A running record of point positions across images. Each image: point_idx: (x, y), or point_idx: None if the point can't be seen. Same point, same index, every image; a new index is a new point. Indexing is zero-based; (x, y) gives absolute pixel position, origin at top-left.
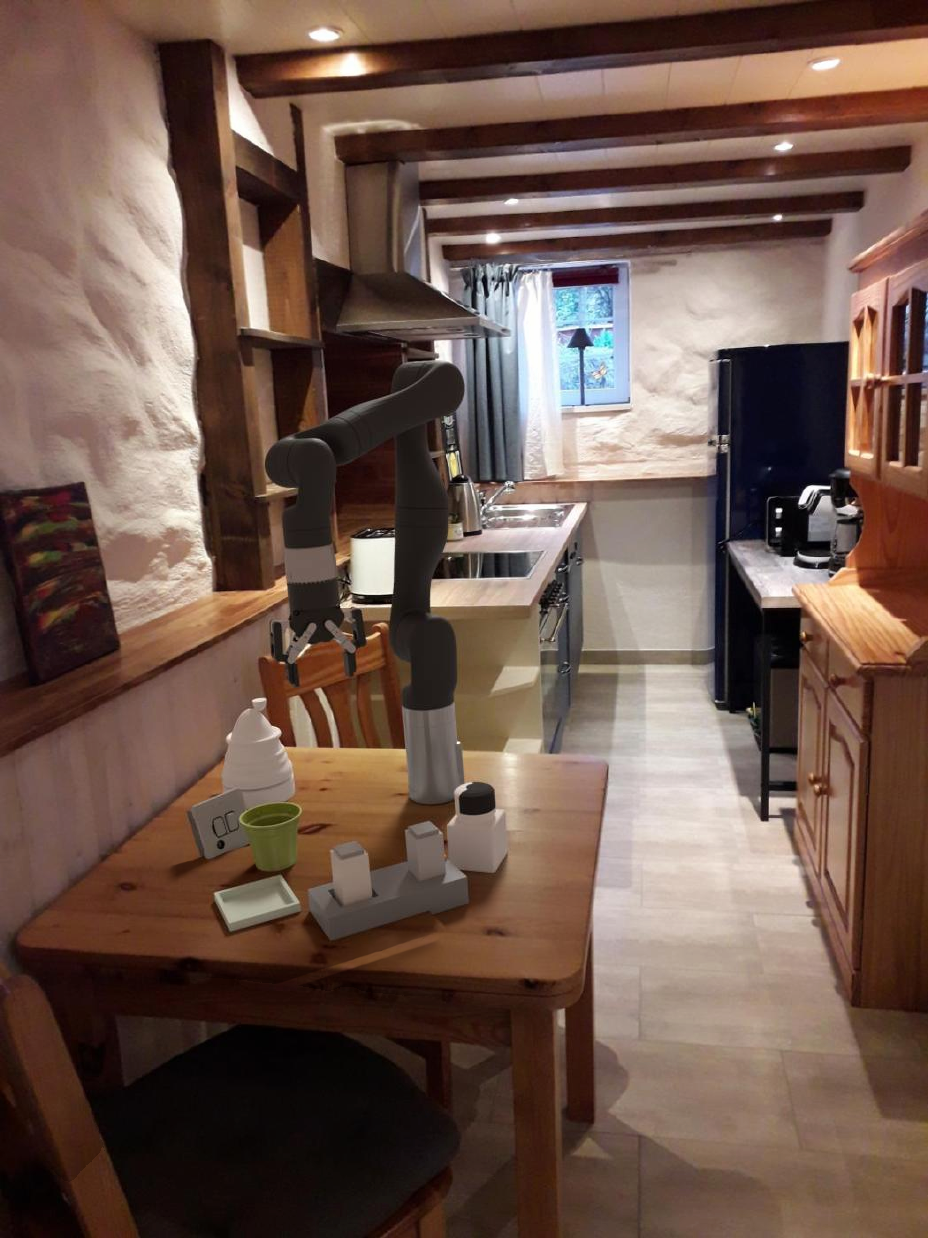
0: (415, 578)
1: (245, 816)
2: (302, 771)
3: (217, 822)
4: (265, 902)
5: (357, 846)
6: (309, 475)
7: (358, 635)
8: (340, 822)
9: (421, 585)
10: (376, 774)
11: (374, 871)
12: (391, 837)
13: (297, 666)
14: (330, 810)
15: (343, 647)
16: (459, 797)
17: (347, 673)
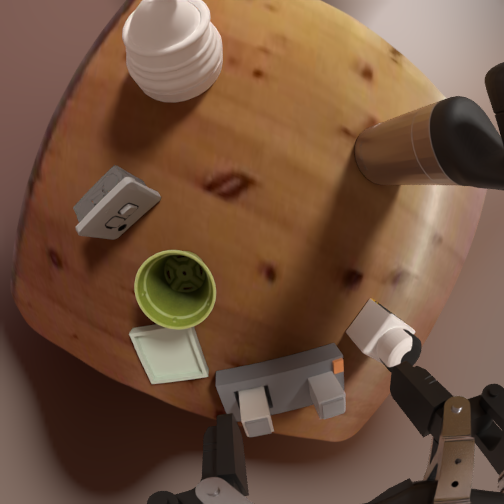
0: None
1: (141, 274)
2: (238, 19)
3: (111, 222)
4: (176, 350)
5: (267, 428)
6: None
7: (483, 450)
8: (266, 180)
9: None
10: (325, 63)
11: (279, 374)
12: (315, 246)
13: (247, 487)
14: (258, 139)
15: (441, 422)
16: (388, 367)
17: (395, 386)
